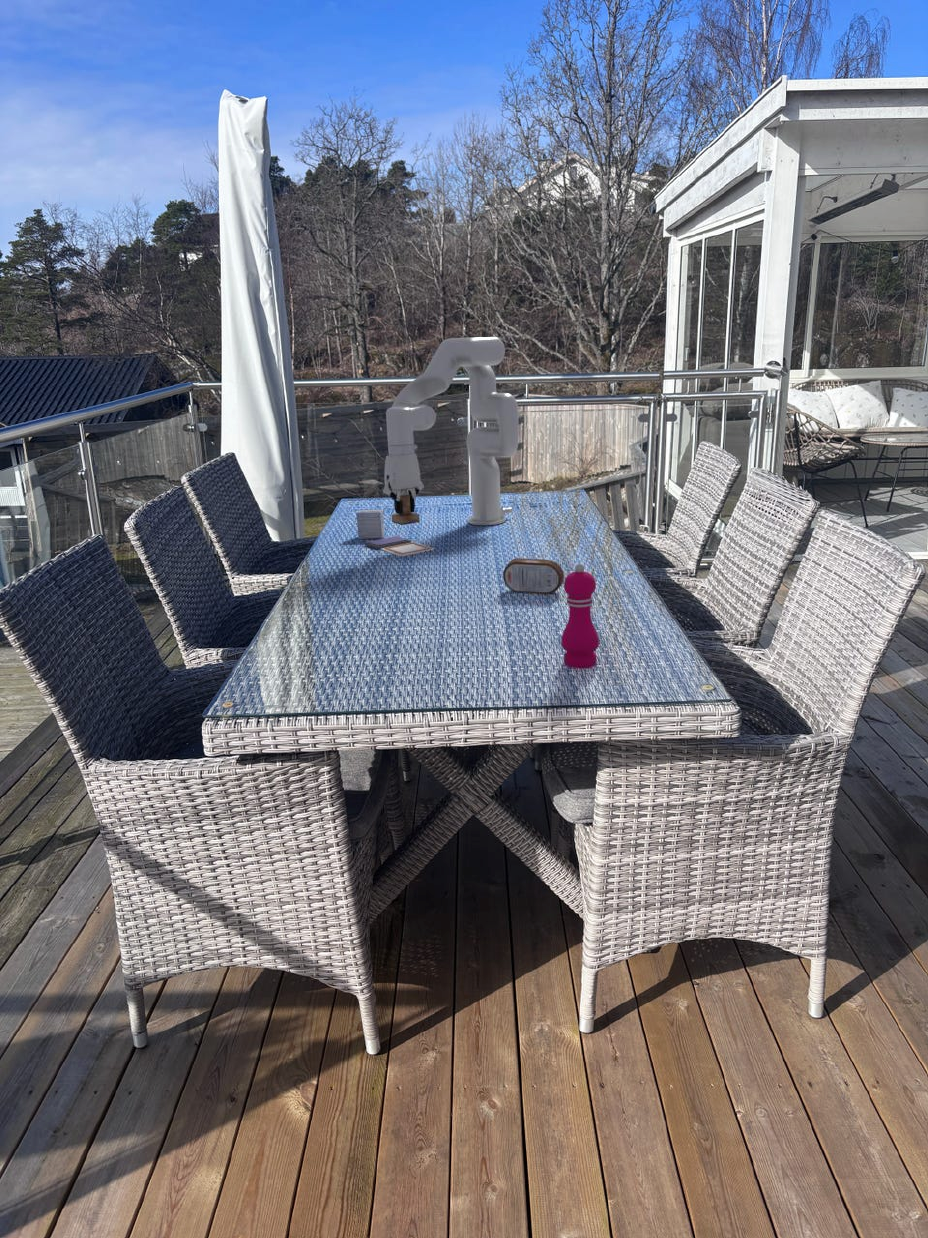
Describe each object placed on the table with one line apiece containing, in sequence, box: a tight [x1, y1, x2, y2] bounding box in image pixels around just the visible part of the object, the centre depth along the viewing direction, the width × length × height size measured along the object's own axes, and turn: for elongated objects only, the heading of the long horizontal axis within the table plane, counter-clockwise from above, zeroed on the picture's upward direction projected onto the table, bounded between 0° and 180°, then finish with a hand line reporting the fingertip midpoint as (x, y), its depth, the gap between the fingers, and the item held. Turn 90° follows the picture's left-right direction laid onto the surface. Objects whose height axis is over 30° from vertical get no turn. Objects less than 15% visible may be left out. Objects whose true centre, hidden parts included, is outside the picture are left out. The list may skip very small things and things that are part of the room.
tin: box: [502, 557, 565, 595], centre depth 219 cm, size 15×3×8 cm, turn 71°
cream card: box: [380, 541, 435, 558], centre depth 269 cm, size 12×12×1 cm
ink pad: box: [364, 535, 412, 551], centre depth 277 cm, size 12×8×1 cm, turn 124°
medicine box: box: [355, 509, 386, 540], centre depth 286 cm, size 8×4×9 cm, turn 84°
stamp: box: [391, 494, 420, 526], centre depth 265 cm, size 6×6×8 cm
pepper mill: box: [560, 563, 600, 669], centre depth 171 cm, size 7×7×20 cm
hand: (405, 511), depth 265 cm, fingers closed on stamp, 3 cm apart
